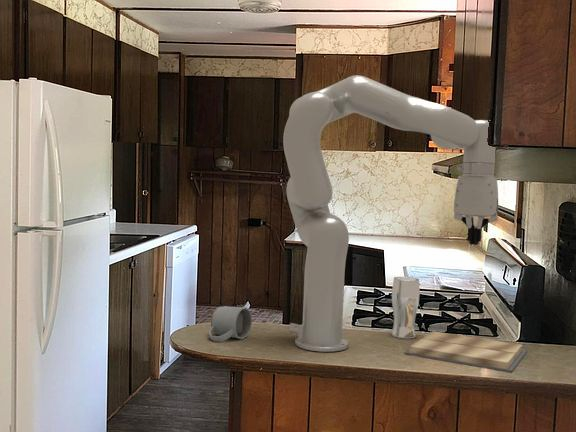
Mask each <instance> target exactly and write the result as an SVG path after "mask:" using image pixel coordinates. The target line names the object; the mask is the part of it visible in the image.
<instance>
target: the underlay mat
mask: <svg viewBox="0 0 576 432" xmlns="http://www.w3.org/2000/svg"><path fill="white" fill-rule="evenodd" d="M527 352H528V350H526V349H525V350H524V349H522V351H521V353H520V354H519V355H518V356H517V358H516V359H515V360H514V362H513V363H512V364H511V365H510V367H509V368H508V369H502V368H496V367H490V366H484V365H479V364H473V363H467V362H461V361H455V360H449V359H444V358H438V357H432V356H426V355H420V354H414V353H409V349H407V350H405V351H404V355H406V356H407V355H408V356H413V357H420V358H425V359H431V360H437V361H443V362H447V363H455V364H460V365H466V366H471V367H478V368H482V369H487V370H488V369H490V370H495V371H500V372H505V373H511V374H512V373H513V372H514V370H515V369H516V368H517V366H518V365H519V364H520V362H521V361H522V359H523V358H524V357H525V356H526V354H527Z"/></svg>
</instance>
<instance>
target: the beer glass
mask: <svg viewBox="0 0 576 432" xmlns="http://www.w3.org/2000/svg"><path fill="white" fill-rule="evenodd" d="M392 282H393V283H392V290H391V304H392V305H391V306H392V312H393V327H392V331H391V336H392V337H394V338H398V339H405V340H406V339H407V340H410V339H415V338H416V329H415V328H416V326H415V323H416V316H417V312H418V307H419V302H420V278H417V277H411V276H395V277H393V281H392Z"/></svg>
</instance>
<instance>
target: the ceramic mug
mask: <svg viewBox="0 0 576 432" xmlns="http://www.w3.org/2000/svg"><path fill="white" fill-rule="evenodd" d="M252 318H253V317H252V313H251V311H250V309H249V308H248V307H245V306H244V307H242V306H241V307H240V306H229V305H228V306H227V305H224V306H219V307H218V306H217V308H216V309H214V311H213V313H212V314H211V318H210V326H211V328H210V329H209V331H208V336H209V339H210V340H211V341H212V340H213V341H212V342H215V341H218V342H217V343H219V342H220V343H221V342H224V341H227V340H228V339H230V338H231V337H232V339H236V338H237V339H238V340H243V338H244V339H245V337H246V338H247V337H248V335H249V334H250V332H251V329H252V324H253V321H252V320H253V319H252ZM214 333H215V334H216V335H218V336H216V335H213V334H214Z"/></svg>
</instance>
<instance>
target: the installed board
mask: <svg viewBox="0 0 576 432" xmlns="http://www.w3.org/2000/svg"><path fill="white" fill-rule="evenodd" d="M408 350H409V353H414V354H420V355H426V356H432V357H438V358H444V359H449V360H455V361H461V362H467V363H473V364H479V365H484V366H490V367H496V368H502V369H508V368H509V367H510V365H511V364H512V363H513V362H514V360H515V353H509V352H503V351H497V350H490V349H484V348H478V347H471V346H465V345H459V344H452V343H446V342H440V341H434V340H427V339H422V338H420V339H418V340H417V341H415V342H414V343H412V344H411V345H410V346H409V349H408Z"/></svg>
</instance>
